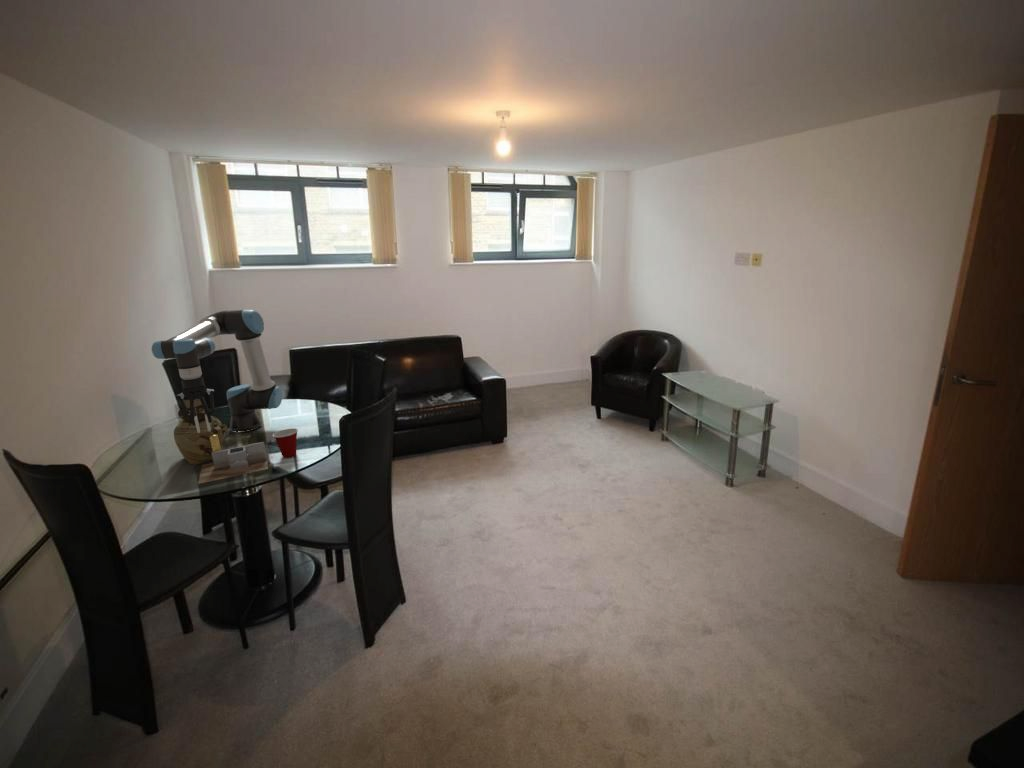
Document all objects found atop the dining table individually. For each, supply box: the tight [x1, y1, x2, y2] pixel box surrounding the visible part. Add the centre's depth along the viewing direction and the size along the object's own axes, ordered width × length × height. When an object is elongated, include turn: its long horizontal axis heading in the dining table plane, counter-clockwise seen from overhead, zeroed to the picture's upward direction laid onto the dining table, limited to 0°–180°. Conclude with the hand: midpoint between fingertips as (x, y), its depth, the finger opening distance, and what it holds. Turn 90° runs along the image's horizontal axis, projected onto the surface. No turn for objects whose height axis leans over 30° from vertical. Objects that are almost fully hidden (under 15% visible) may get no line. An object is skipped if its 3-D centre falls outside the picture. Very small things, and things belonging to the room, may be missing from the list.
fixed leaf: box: [230, 441, 268, 471], centre depth 215 cm, size 7×14×8 cm, turn 118°
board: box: [197, 451, 269, 485], centre depth 214 cm, size 20×26×1 cm
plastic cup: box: [272, 427, 298, 459], centre depth 225 cm, size 11×11×12 cm
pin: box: [209, 434, 221, 452], centre depth 215 cm, size 3×3×14 cm
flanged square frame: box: [211, 445, 248, 469], centre depth 212 cm, size 7×13×8 cm, turn 118°
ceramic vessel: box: [173, 395, 229, 465], centre depth 223 cm, size 19×21×30 cm
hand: (204, 430), depth 204 cm, fingers open, 3 cm apart
